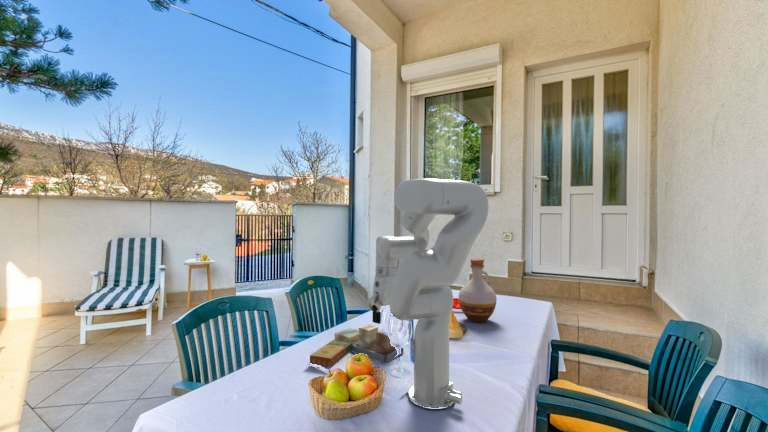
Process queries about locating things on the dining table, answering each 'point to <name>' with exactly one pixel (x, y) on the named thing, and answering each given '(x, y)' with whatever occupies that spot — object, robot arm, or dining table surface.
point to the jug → (477, 294)
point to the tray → (374, 353)
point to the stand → (348, 335)
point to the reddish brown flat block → (331, 353)
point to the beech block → (368, 337)
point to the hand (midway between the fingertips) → (385, 319)
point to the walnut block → (383, 343)
